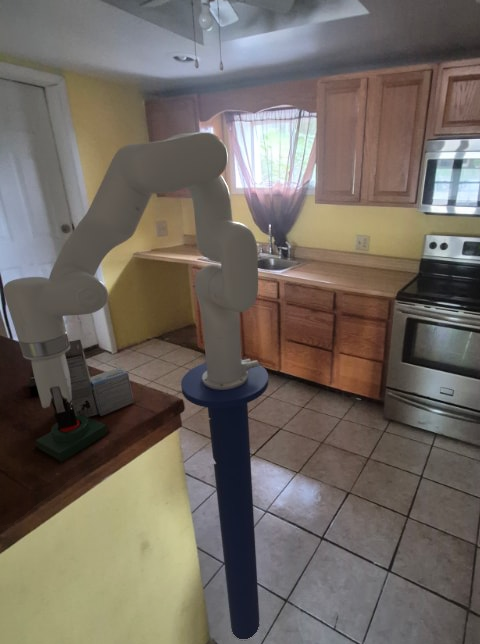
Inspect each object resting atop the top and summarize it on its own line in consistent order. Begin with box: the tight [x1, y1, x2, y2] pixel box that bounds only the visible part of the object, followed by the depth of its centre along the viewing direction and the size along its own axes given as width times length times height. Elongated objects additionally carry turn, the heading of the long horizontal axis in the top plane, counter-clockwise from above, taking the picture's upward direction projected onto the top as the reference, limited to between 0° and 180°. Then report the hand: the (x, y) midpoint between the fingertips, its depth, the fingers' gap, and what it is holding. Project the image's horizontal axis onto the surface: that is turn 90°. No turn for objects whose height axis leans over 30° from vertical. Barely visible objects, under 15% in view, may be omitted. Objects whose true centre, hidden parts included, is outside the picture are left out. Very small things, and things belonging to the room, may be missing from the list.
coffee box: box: [65, 339, 99, 418], centre depth 85 cm, size 9×6×16 cm
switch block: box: [35, 415, 108, 463], centre depth 77 cm, size 10×8×4 cm
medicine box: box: [90, 366, 135, 417], centre depth 88 cm, size 8×4×9 cm, turn 136°
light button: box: [60, 420, 80, 432], centre depth 77 cm, size 4×4×2 cm
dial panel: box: [28, 370, 39, 398], centre depth 98 cm, size 9×9×3 cm
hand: (68, 424), depth 76 cm, fingers closed
